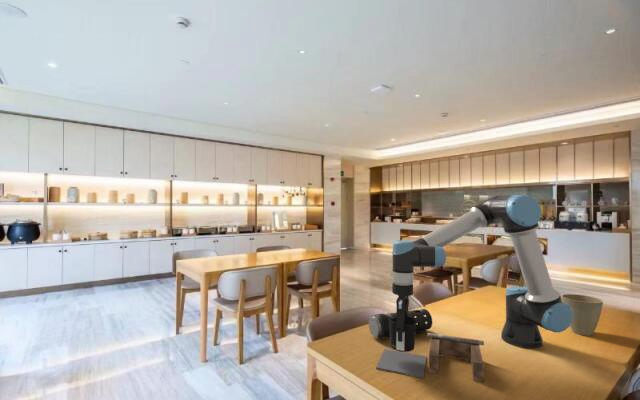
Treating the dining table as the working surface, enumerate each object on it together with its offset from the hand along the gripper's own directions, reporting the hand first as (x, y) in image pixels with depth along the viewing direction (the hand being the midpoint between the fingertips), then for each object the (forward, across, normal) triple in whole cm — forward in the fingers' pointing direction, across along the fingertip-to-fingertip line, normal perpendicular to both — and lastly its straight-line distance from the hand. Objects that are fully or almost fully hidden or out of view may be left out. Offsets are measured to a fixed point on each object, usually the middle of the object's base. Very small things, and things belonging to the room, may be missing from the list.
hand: (402, 344), depth 121 cm
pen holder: (+1, 0, 0) cm, 1 cm away
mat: (+7, 0, 0) cm, 7 cm away
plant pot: (+7, -62, +73) cm, 96 cm away
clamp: (+7, -6, +18) cm, 20 cm away
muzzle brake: (+7, -27, -4) cm, 28 cm away
